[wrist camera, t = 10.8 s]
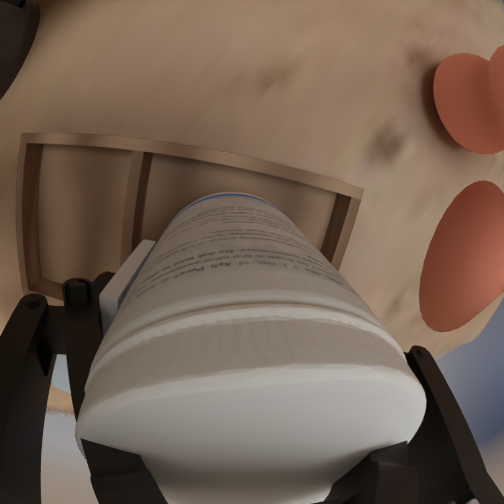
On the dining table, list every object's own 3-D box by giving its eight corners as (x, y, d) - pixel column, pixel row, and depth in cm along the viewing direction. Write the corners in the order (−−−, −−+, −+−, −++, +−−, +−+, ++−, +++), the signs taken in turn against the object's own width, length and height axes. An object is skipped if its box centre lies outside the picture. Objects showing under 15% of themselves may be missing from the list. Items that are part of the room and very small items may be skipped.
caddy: (40, 279, 20) (23, 295, 17) (44, 133, 16) (21, 133, 13) (297, 329, 25) (306, 351, 22) (344, 183, 20) (364, 189, 17)
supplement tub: (141, 217, 17) (-10, 381, 3) (280, 171, 17) (474, 253, 3) (193, 332, 20) (180, 520, 7) (311, 297, 20) (404, 470, 7)
